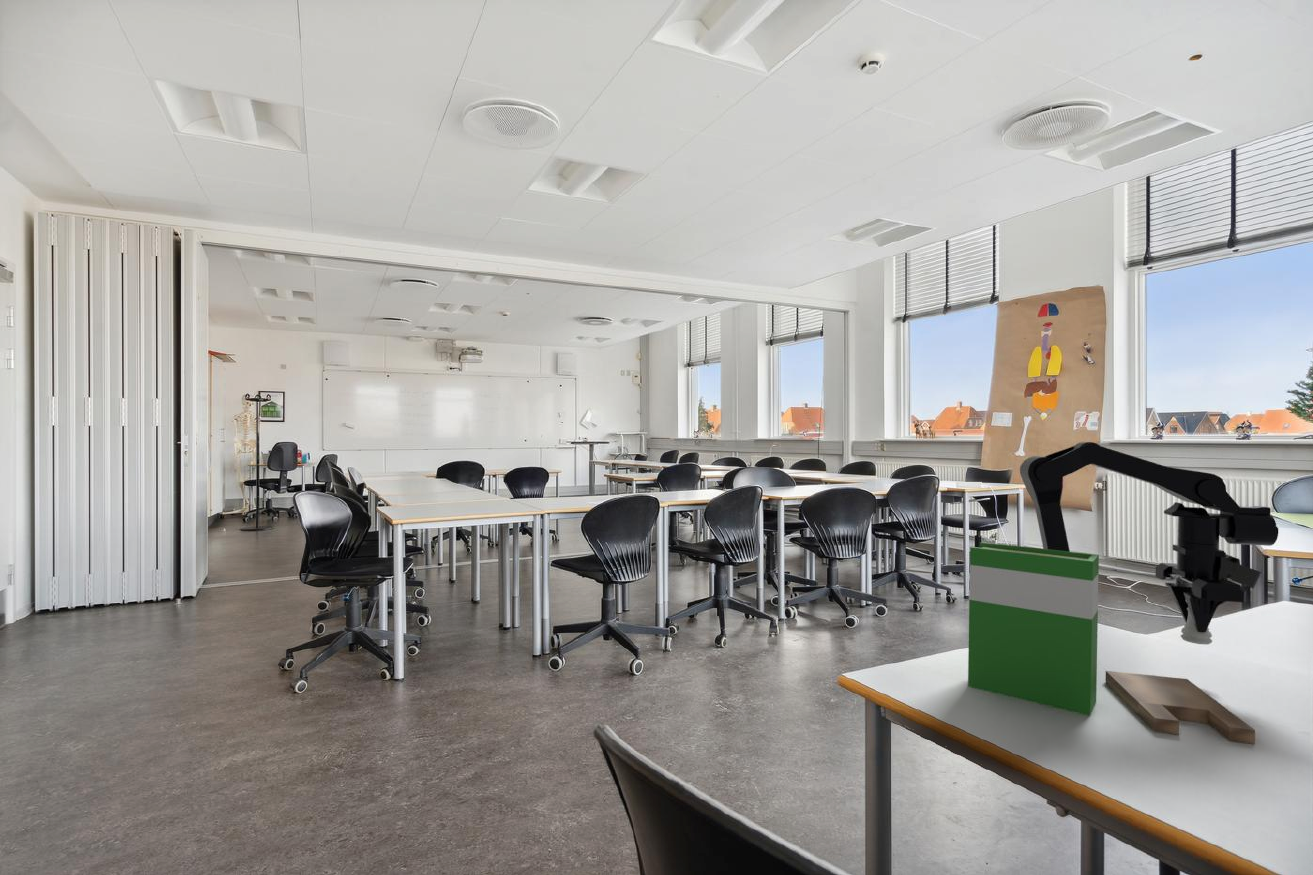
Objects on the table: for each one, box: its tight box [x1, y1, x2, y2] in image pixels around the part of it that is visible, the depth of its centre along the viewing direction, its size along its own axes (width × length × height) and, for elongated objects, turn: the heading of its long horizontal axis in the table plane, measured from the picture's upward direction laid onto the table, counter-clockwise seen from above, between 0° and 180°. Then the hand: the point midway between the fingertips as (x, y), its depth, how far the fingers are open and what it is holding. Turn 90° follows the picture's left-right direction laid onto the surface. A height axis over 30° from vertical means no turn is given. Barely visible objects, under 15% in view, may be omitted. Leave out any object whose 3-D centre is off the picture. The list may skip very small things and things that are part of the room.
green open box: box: [967, 541, 1100, 717], centre depth 109 cm, size 18×7×24 cm, turn 50°
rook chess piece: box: [1180, 600, 1213, 646], centre depth 117 cm, size 4×4×8 cm
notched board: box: [1104, 670, 1256, 745], centre depth 104 cm, size 12×20×2 cm, turn 163°
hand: (1196, 629), depth 117 cm, fingers closed on rook chess piece, 3 cm apart
